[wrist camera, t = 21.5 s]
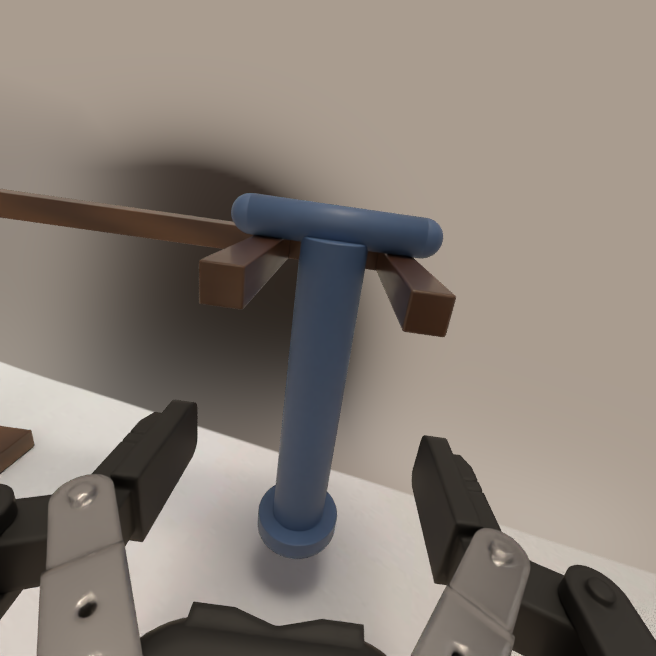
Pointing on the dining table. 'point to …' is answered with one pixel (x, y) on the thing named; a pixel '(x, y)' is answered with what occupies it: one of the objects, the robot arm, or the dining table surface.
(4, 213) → the stand
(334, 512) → the peg
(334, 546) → the dining table surface
